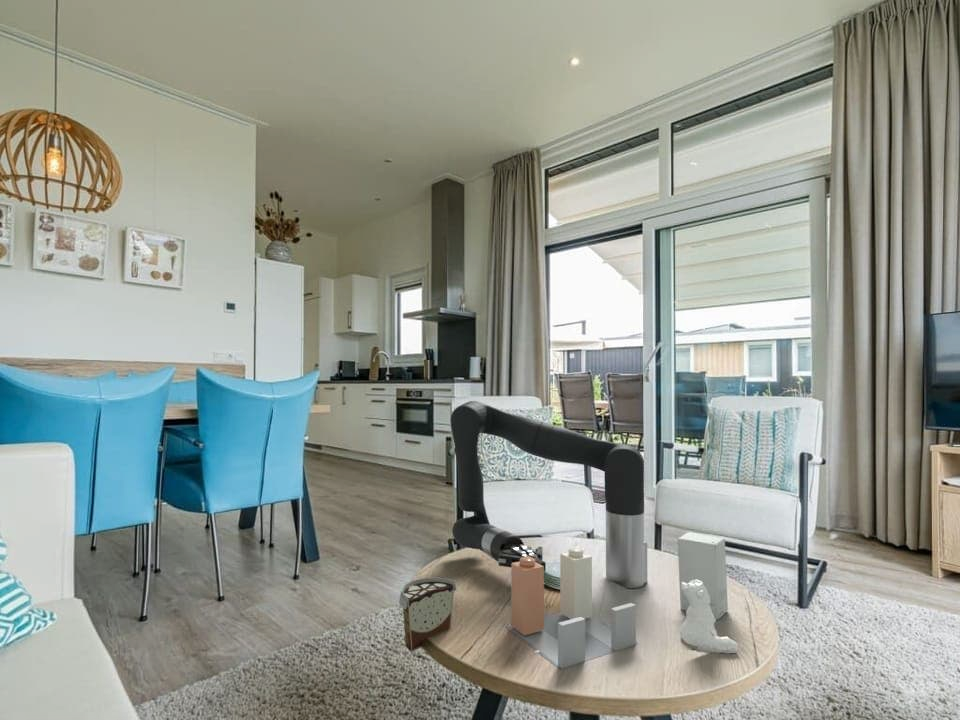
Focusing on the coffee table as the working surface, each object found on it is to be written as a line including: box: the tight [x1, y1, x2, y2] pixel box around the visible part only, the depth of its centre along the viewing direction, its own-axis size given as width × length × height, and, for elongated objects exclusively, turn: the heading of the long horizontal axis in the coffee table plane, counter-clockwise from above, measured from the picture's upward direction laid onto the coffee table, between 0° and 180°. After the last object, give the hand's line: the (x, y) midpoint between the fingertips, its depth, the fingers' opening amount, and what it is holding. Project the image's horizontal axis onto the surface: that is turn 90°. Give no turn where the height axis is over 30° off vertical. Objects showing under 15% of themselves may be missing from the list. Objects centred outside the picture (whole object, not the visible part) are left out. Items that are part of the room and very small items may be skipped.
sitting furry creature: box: [679, 579, 739, 654], centre depth 98 cm, size 10×9×12 cm
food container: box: [398, 577, 457, 653], centre depth 100 cm, size 12×6×10 cm, turn 135°
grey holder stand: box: [505, 602, 639, 671], centre depth 98 cm, size 18×17×8 cm
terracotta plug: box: [510, 557, 545, 636], centre depth 101 cm, size 4×4×13 cm
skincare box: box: [677, 531, 729, 621], centre depth 113 cm, size 8×7×16 cm
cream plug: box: [559, 547, 593, 619], centre depth 106 cm, size 4×4×13 cm
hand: (542, 567), depth 116 cm, fingers closed
